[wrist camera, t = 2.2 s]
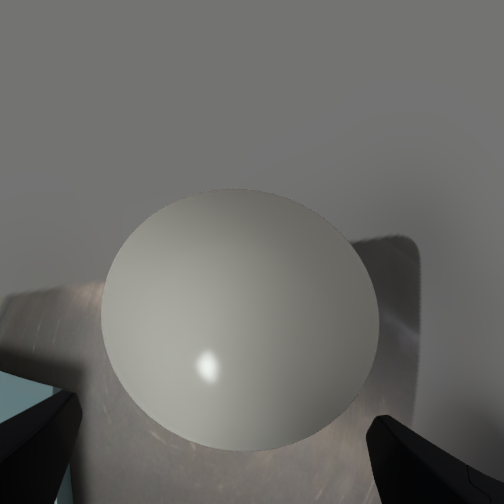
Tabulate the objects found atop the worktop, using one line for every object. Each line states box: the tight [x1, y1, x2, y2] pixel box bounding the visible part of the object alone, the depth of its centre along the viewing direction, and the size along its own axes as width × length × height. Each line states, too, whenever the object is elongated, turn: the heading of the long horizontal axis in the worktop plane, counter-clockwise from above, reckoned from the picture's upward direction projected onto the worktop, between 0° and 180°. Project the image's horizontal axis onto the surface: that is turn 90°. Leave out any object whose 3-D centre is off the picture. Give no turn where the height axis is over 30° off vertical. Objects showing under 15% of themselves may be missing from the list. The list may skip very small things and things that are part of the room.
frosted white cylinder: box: [101, 189, 379, 451], centre depth 11 cm, size 6×6×13 cm
